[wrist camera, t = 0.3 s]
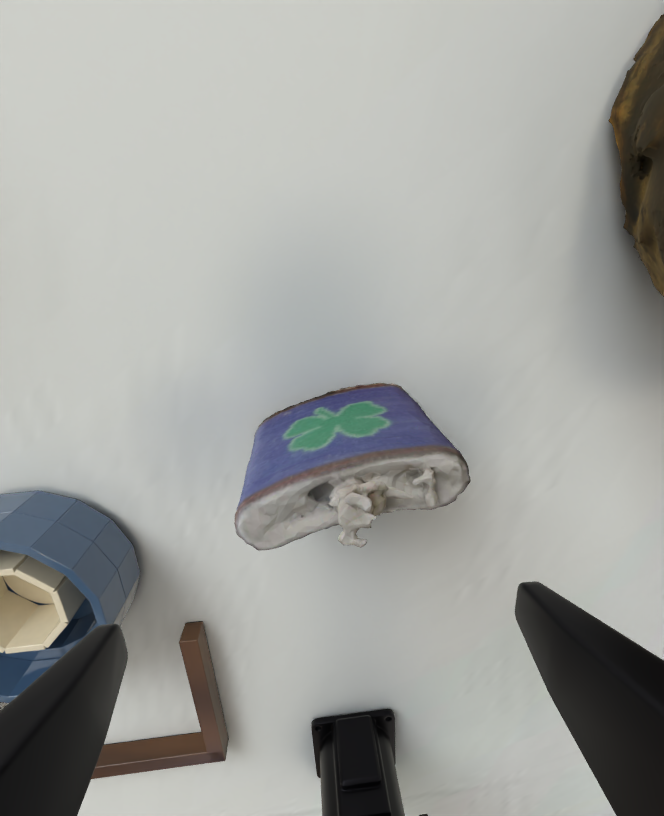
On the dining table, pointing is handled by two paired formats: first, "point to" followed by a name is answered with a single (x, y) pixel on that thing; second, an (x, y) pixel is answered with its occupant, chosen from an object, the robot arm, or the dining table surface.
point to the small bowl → (24, 620)
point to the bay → (179, 747)
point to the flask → (345, 466)
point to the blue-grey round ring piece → (66, 572)
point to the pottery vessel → (644, 151)
